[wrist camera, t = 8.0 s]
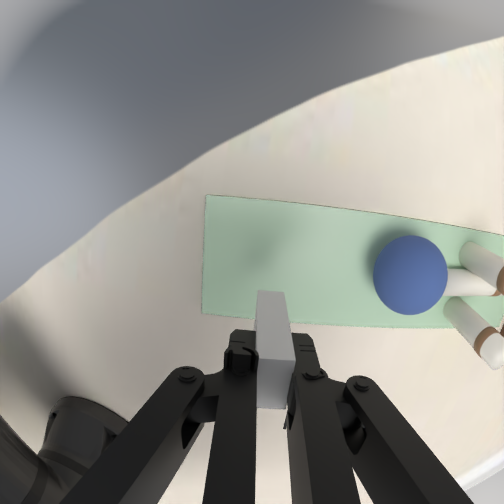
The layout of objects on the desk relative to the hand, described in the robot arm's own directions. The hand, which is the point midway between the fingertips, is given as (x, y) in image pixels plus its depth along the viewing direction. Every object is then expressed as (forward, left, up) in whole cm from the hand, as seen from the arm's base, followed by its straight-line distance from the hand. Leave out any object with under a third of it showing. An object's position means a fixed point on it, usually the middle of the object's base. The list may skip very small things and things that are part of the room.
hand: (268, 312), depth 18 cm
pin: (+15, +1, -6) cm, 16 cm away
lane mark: (+11, 0, -7) cm, 13 cm away
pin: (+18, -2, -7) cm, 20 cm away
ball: (+11, +2, -4) cm, 12 cm away
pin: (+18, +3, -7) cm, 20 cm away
